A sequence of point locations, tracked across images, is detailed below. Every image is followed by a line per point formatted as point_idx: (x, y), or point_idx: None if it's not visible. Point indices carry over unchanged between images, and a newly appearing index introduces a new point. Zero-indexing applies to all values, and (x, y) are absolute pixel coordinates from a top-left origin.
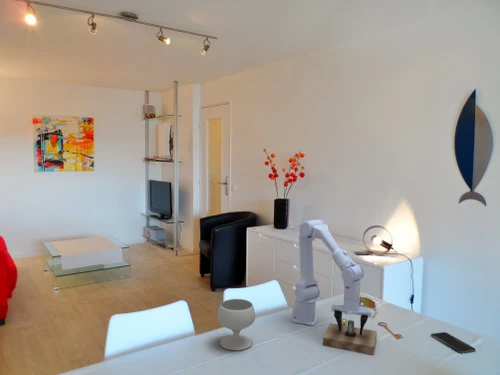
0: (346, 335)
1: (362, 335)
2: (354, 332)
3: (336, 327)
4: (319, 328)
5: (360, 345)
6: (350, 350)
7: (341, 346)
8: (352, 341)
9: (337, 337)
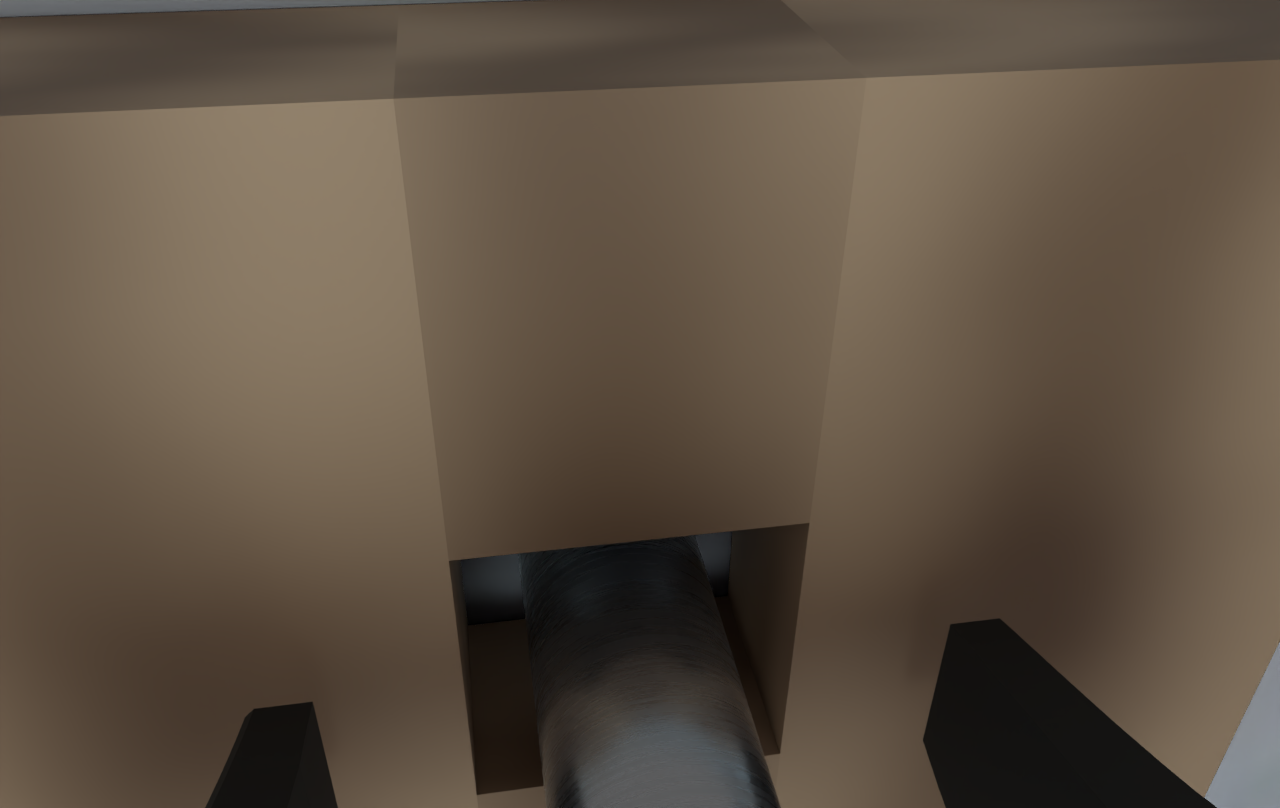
0: None
1: None
2: (537, 793)
3: None
4: (1272, 714)
5: (74, 100)
6: (486, 6)
7: (810, 11)
8: (459, 224)
9: (1033, 285)
